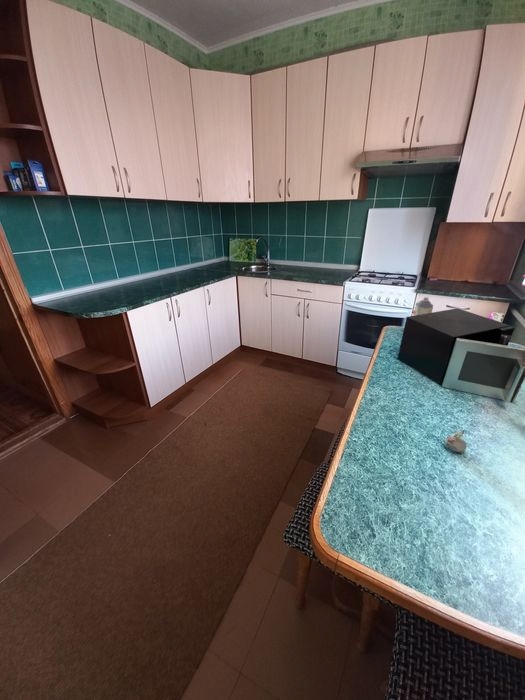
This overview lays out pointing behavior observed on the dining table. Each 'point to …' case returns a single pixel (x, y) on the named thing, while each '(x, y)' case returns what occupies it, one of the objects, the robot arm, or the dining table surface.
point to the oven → (445, 338)
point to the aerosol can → (423, 307)
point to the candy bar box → (496, 316)
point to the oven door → (486, 369)
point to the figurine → (456, 443)
